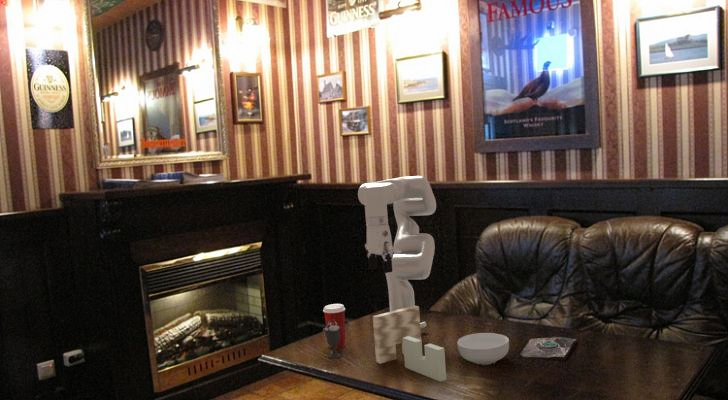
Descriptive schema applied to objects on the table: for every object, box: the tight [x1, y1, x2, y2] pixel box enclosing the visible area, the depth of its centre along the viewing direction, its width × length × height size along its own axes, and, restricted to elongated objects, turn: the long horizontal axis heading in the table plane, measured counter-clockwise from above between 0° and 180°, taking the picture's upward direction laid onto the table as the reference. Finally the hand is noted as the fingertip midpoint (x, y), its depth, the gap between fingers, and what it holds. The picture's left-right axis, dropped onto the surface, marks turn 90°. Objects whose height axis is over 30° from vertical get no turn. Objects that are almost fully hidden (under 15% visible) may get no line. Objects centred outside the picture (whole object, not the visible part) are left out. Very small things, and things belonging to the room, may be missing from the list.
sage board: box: [403, 336, 447, 382], centre depth 209 cm, size 2×18×10 cm, turn 34°
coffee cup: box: [322, 303, 346, 349], centre depth 244 cm, size 8×8×15 cm
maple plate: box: [372, 305, 422, 365], centre depth 227 cm, size 18×2×16 cm, turn 124°
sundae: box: [322, 316, 342, 360], centre depth 232 cm, size 7×7×15 cm
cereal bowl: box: [456, 332, 510, 366], centre depth 216 cm, size 17×17×7 cm
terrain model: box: [519, 335, 578, 362], centre depth 223 cm, size 20×15×3 cm
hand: (380, 270), depth 226 cm, fingers open, 9 cm apart
